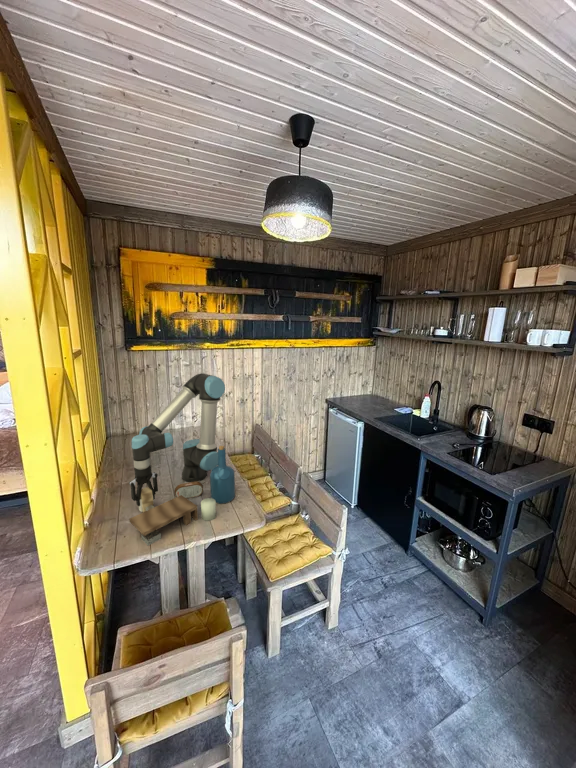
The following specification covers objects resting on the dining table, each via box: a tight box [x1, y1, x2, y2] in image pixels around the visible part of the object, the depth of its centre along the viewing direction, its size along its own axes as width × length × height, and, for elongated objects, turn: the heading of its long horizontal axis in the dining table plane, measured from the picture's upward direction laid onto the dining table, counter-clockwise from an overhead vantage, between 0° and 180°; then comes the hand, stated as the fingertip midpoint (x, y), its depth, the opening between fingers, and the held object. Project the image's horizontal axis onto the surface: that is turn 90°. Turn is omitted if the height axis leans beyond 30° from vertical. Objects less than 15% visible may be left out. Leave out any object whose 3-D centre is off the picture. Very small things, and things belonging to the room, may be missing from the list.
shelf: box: [128, 495, 199, 536], centre depth 149 cm, size 26×14×8 cm, turn 139°
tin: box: [173, 481, 204, 499], centre depth 173 cm, size 15×3×8 cm, turn 111°
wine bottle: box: [209, 445, 236, 505], centre depth 170 cm, size 14×13×30 cm
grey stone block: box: [140, 529, 162, 546], centre depth 141 cm, size 6×6×3 cm
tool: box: [140, 486, 170, 527], centre depth 155 cm, size 5×22×10 cm, turn 49°
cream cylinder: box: [200, 497, 217, 522], centre depth 157 cm, size 7×7×8 cm
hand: (146, 507), depth 162 cm, fingers closed on tool, 5 cm apart
